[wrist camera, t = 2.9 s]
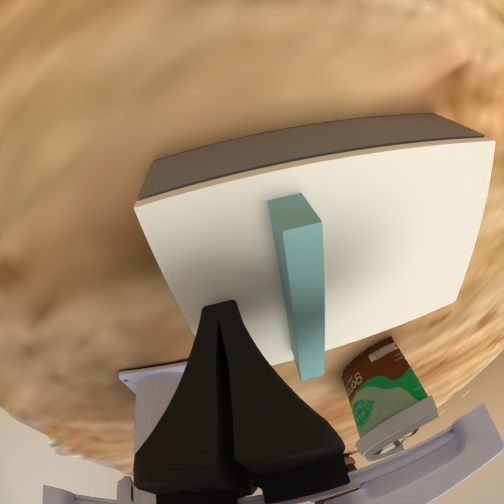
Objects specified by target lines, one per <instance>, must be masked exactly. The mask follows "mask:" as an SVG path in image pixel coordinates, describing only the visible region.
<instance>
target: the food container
mask: <svg viewBox="0 0 504 504" xmlns="http://www.w3.org/2000/svg"><path fill="white" fill-rule="evenodd" d="M343 381H344V385H345V388H346V391H347V395H348V398H349V401H350V405H351V408H352V411H353V415H354V418H355V422H356V425H357V429H358V433H359V436H360V439H359V440H358V441H357V443H356V445H355V446H356V447H357V449H358V450H359V452H360V453H361V455H362V456H363V457H366V459H367V461H375V460H379V459H382V458H385V457H387V456H390V455H393V454H395V453H398V452H400V451H402V450H404V448H403V445H402V443H403V441H404V440H405V439H406V438H407V437H410V436H412V435H413V434H415V433H416V432H417V430H418V429H419V428H420V427H421V426H423V425H425V424H426V423H428V422H430V421H432V420H434V419H436V418H437V417H439V416H438V413H437V411H436V410H437V408H436V405H435V403H434V400H433V397H432V395H431V396H429V397H428V396H427V394H426V392H425V390H424V389H423V387H422V385H421V384H420V382H419V380H418V379H417V377H416V375H415V374H414V372H413V370H412V369H411V367H410V366H409V364H408V362H407V361H406V359H405V357H404V356H403V354H402V353H401V351H400V349H399V348H398V346H397V345H396V343H395V342H394V340H393V339H392V337H389V338H387V339H385V340H382V341H380V342H379V343H377V344H375V345H373V346H371V347H370V348H368V349H366V350H365V351H364V352H362V353H361V354H360V355H358V356H357V357H356V358H355V359H354V360H353V361H352V362H351V363H350V364H349V365H348V366H347V367H346V369H345V371H344V372H343Z"/></svg>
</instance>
